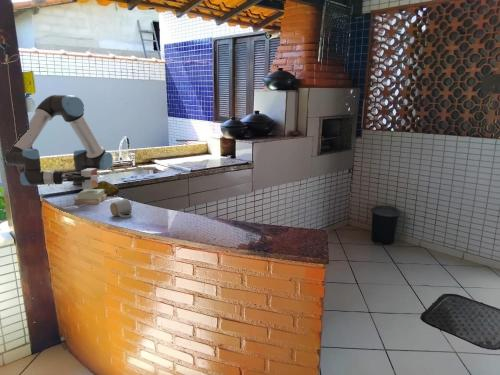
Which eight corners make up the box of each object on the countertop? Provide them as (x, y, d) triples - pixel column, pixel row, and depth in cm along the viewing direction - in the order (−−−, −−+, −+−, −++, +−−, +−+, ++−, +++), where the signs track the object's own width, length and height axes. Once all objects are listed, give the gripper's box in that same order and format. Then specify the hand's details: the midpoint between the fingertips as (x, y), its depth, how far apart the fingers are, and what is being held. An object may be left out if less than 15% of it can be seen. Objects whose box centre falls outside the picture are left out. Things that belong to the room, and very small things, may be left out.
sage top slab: (85, 194, 210) (84, 189, 210) (104, 194, 211) (104, 189, 210) (77, 199, 200) (77, 193, 199) (98, 199, 200) (97, 193, 200)
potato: (109, 197, 213) (108, 184, 211) (95, 194, 219) (94, 181, 218) (120, 194, 220) (120, 181, 218) (106, 191, 226) (105, 179, 225)
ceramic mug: (109, 215, 180) (108, 200, 178) (124, 211, 186) (123, 197, 185) (120, 220, 174) (119, 204, 172) (136, 216, 180) (135, 201, 178)
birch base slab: (84, 198, 212) (84, 193, 211) (107, 198, 213) (106, 193, 212) (74, 204, 199) (74, 199, 199) (98, 205, 200) (98, 199, 199)
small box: (92, 189, 200) (90, 170, 198) (82, 189, 200) (80, 170, 198) (98, 186, 208) (97, 168, 206) (88, 186, 208) (87, 167, 206)
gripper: (58, 180, 209) (100, 178, 215) (50, 188, 188) (96, 186, 195) (57, 167, 207) (99, 166, 213) (48, 174, 187) (95, 173, 193)
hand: (98, 176), depth 204 cm, fingers closed on small box, 9 cm apart
